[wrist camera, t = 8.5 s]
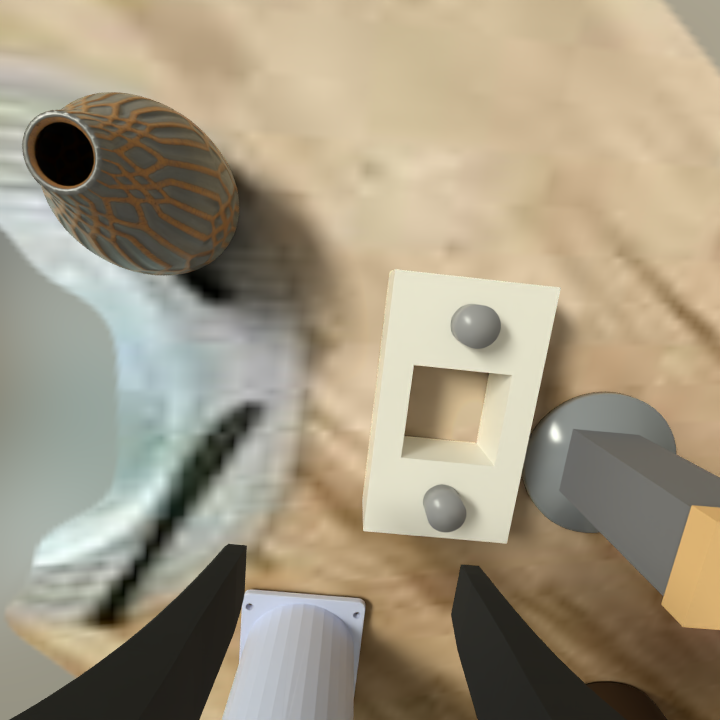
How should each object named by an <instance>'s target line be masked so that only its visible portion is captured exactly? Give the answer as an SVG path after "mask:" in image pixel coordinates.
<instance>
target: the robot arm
mask: <svg viewBox="0 0 720 720" xmlns="http://www.w3.org/2000/svg"><path fill="white" fill-rule="evenodd" d="M246 549H247V546H245V545H234V544H228V545H226V546H225V547H224V548H223V549H222V550H221V552H220V553H219V554H218V555H217V556H216V557H215V558H214V559H213V560H212V562H211V563H210V564H209V565H208V566H207V567H206V568H205V569H204V570H203V571H202V572H201V573H200V574H199V575H198V577H197V578H196V579H195V580H194V581H193V582H192V583H191V584H190V585H189V586H188V587H187V588H186V589H185V590H184V591H183V592H182V593H181V594H180V595H179V596H178V597H177V598H176V599H174V600H173V601H172V602H171V603H170V604H169V605H168V606H167V607H166V608H165V609H164V610H163V611H161V612H160V613H159V614H158V615H157V616H156V617H155V618H154V619H153V620H152V621H150V622H149V623H148V624H147V625H146V626H145V627H143V628H142V629H141V630H140V631H139V632H137V633H136V634H135V635H134V636H133V637H131V638H130V639H129V640H128V641H126V642H125V643H124V644H123V645H121V646H120V647H119V648H117V649H116V650H115V651H113V652H112V653H111V654H109V655H108V656H107V657H105V658H104V659H103V660H101V661H100V662H99V663H97V664H96V665H95V666H93V667H92V668H90V669H89V670H88V671H86V672H85V673H83V674H82V675H80V676H79V677H78V678H76V679H75V680H73V681H71V682H70V683H68V684H67V685H65V686H64V687H62V688H61V689H59V690H58V691H56V692H55V693H53V694H52V695H50V696H48V697H47V698H45V699H44V700H42V701H40V702H39V703H37V704H36V705H34V706H32V707H31V708H29V709H27V710H26V711H24V712H22V713H20V714H19V715H17V716H15V717H13V718H12V719H10V720H199V719H200V717H201V714H202V711H203V709H204V706H205V704H206V702H207V699H208V697H209V694H210V692H211V689H212V687H213V684H214V682H215V679H216V677H217V674H218V672H219V669H220V667H221V664H222V662H223V659H224V657H225V654H226V652H227V649H228V646H229V644H230V641H231V639H232V636H233V634H234V631H235V628H236V624H237V621H238V618H239V614H240V611H241V607H242V617H241V637H240V656H239V665H238V669H237V672H236V675H235V678H234V682H233V685H232V688H231V691H230V695H229V698H228V701H227V704H226V708H225V711H224V714H223V717H222V720H354V693H355V685H356V678H357V670H358V662H359V655H360V647H361V639H362V632H363V624H364V616H365V602H364V600H362V599H360V598H350V597H338V596H326V595H313V594H301V593H289V592H277V591H265V590H252V589H251V590H247V591H246V592H245V571H246ZM249 603H250V604H252V605H249ZM355 612H359V613H358V614H356V613H355ZM451 616H452V622H453V628H454V634H455V639H456V644H457V649H458V653H459V657H460V660H461V664H462V667H463V671H464V674H465V678H466V681H467V684H468V688H469V691H470V695H471V698H472V701H473V705H474V708H475V712H476V715H477V718H478V720H626V719H625V718H624V717H623V716H621V715H620V714H619V713H618V712H617V711H616V710H614V709H613V708H612V707H611V706H610V705H609V704H607V703H606V702H605V701H604V700H603V699H602V698H600V697H599V696H598V695H597V694H596V693H595V692H594V691H593V690H591V689H590V688H589V687H588V686H587V685H586V684H585V683H584V682H583V681H582V680H581V679H580V678H579V677H577V676H576V675H575V674H574V673H573V672H572V671H571V670H570V669H569V668H568V667H567V666H566V665H565V664H564V663H563V662H562V661H561V660H560V659H559V658H558V657H557V656H556V655H555V654H554V653H553V652H552V651H551V650H550V649H549V648H548V647H547V646H546V644H545V643H544V642H543V641H542V640H541V639H540V638H539V637H538V636H537V635H536V634H535V633H534V632H533V630H532V629H531V628H530V627H529V626H528V625H527V624H526V622H525V621H524V620H523V619H522V618H521V617H520V616H519V614H518V613H517V612H516V611H515V610H514V609H513V607H512V606H511V605H510V604H509V603H508V601H507V600H506V599H505V598H504V596H503V595H502V594H501V593H500V592H499V590H498V589H497V588H496V587H495V585H494V584H493V583H492V582H491V580H490V579H489V578H488V577H487V575H486V574H485V573H484V572H483V570H482V569H481V568H480V567H479V566H472V565H461V567H460V572H459V577H458V583H457V588H456V593H455V598H454V603H453V608H452V613H451Z"/></svg>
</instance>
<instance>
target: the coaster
mask: <svg viewBox="0 0 720 720" xmlns="http://www.w3.org/2000/svg"><path fill="white" fill-rule="evenodd" d="M573 429H579V430H590V431H602V432H613V433H624V434H635V435H640V436H642V437H644V438H646V439H648V440H650V441H652V442H653V443H655V444H657V445H659V446H661V447H663V448H665V449H667V450H668V451H670V452H672V453H674V454H676V445H675V440H674V437H673V434H672V431H671V429H670V427H669V425H668V424H667V422H666V420H665V419H664V418H663V417H662V415H661V414H660V413H658V412H657V411H656V410H655V409H654V408H653V407H651V406H650V405H648V404H647V403H645V402H642V401H640V400H638V399H636V398H633V397H631V396H628V395H625V394H621V393H615V392H593V393H588V394H584V395H580V396H577V397H574V398H572V399H570V400H568V401H566V402H564V403H562V404H561V405H559V406H557V407H556V408H554V409H553V410H552V411H551V412H549V413H548V414H547V415H546V416H545V417H544V418H543V419H542V420H541V421H540V422H539V424H538V425H537V426H536V428H535V429H534V431H533V432H532V434H531V436H530V437H529V441H528V445H527V450H526V455H525V460H524V464H523V469H522V475H523V482H524V485H525V488H526V491H527V493H528V495H529V497H530V498H531V500H532V501H533V503H534V504H535V505H536V507H537V508H538V509H539V510H540V511H541V512H542V513H543V514H544V515H545V516H546V517H547V518H548V519H549V520H551V521H552V522H554V523H556V524H557V525H559V526H561V527H564V528H566V529H569V530H573V531H578V532H585V533H596V532H599V531H598V530H597V529H596V528H595V526H594V525H593V524H592V523H591V522H590V521H589V520H588V519H587V518H586V517H585V516H584V515H583V514H582V513H581V512H580V511H579V510H578V509H577V508H576V507H575V506H574V505H573V504H572V503H571V502H570V501H569V500H568V499H567V498H566V497H565V496H564V495H563V494H562V493H561V492H560V491H559V488H560V484H561V480H562V475H563V471H564V466H565V462H566V457H567V453H568V449H569V444H570V440H571V435H572V431H573Z"/></svg>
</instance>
